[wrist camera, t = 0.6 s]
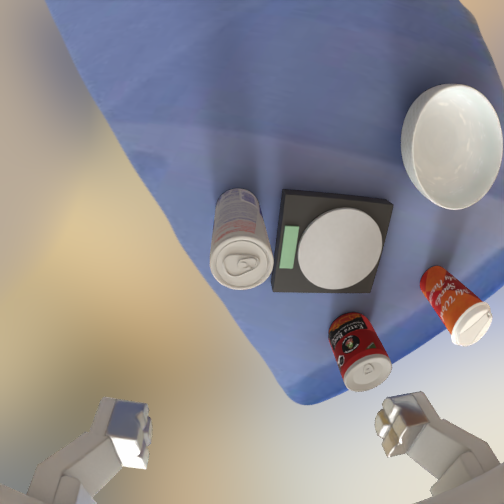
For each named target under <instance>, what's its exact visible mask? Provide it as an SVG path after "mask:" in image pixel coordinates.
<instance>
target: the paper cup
mask: <svg viewBox="0 0 504 504" xmlns="http://www.w3.org/2000/svg"><path fill="white" fill-rule="evenodd" d="M420 288H421V290H422V292H423V294H424V295H425V297H426V298H427V299H428V301H429V302H430V304H431V305H432V307H433V308H434V310H435V311H436V313H437V314H438V316H439V317H440V319H441V320H442V322H443V323H444V325H445V326H446V328H447V329H448V331H449V332H450V334H451V337H452V342H453V343H454V344H457V345H459V346H469V345H472V344H474V343H476V342H477V341H478V340H479V339H481V337H483V335H484V334H485V333H486V332H487V330H488V329H489V327H490V325H491V322H492V314H491V311H490V306H489V305H488V304H487V303H485V302H482V301H481V300H480V299H479V298H478V297H477V296H476V295H475V294H474V293H473V292H471V291H470V290H469V289H468V288H467V287H465V286H464V285H463V284H462V283H461V282H460V281H459V280H457V279H456V278H455V277H454V276H453V275H451V274H450V273H449V272H448V271H446V270H445V269H444V268H442V267H441V266H433V267H431V268H429V269H428V270H427V271H426V272H425V273H424V274H423V276H422V278H421V281H420Z"/></svg>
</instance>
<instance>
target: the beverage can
mask: <svg viewBox="0 0 504 504" xmlns="http://www.w3.org/2000/svg"><path fill="white" fill-rule="evenodd" d="M273 264H274V259H273V254H272V250H271V246H270V242H269V239H268V235H267V231H266V227H265V224H264V220H263V217H262V213H261V209H260V206H259V202H258V200H257V198H256V197H255V196H254V195H253V194H252V193H251V192H249V191H247V190H245V189H231V190H228V191H226V192H225V193H223V194H222V195H221V196H220V198H219V199H218V201H217V204H216V210H215V218H214V226H213V234H212V243H211V251H210V268H211V272H212V274H213V276H214V277H215V279H216V280H217V281H218V282H219V283H221V284H222V285H224V286H226V287H228V288H231V289H237V290H245V289H250V288H253V287H256V286H258V285H260V284H261V283H263V282H264V281H265V280H266V279H267V278H268V277H269V275H270V274H271V272H272V269H273Z"/></svg>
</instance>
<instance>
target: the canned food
mask: <svg viewBox="0 0 504 504" xmlns="http://www.w3.org/2000/svg"><path fill="white" fill-rule="evenodd" d="M329 342H330V345H331V347H332V350H333V353H334V356H335V359H336V361H337V364H338V367H339V370H340V373H341V376H342V378H343V381H344V383H345V385H346V387H347V388H348V389H349V390H351V391H355V392H362V391H367V390H370V389H373V388H375V387H377V386H378V385H380V384H381V383H383V382H384V381H385V380H386V379H387V378H388V376H389V375H390V373H391V370H392V364H391V361H390V359H389V357H388V354H387V353H386V351H385V349H384V347H383V345H382V343H381V341H380V340H379V338H378V336H377V334H376V332H375V330H374V329H373V327H372V325H371V323H370V321H369V320H368V319H367V318H366V317H365V316H364V315H362V314H360V313H355V312H352V313H347V314H344V315H342V316H340V317H339V318H337V319H336V320H335V321H334V322H333V323H332V325H331V327H330V329H329Z"/></svg>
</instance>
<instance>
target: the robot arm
mask: <svg viewBox="0 0 504 504" xmlns="http://www.w3.org/2000/svg"><path fill="white" fill-rule="evenodd" d="M382 406H383V409H382V410H380V411H379V412H378V413H377V416H376V418H375V429H376V432H377V435H378V436H379V437H381V438H382V439H383V442H382V446H383V448H384V451H385V453H386V455H387V457H392V456H397V455H401V454H405V453H407V455H408V456H409V457H410V458H412V459H413V460H414V461H415V462H417V463H418V464H419V465H420V466H422V467H423V468H424V469H425V470H427V471H428V472H429V473H431V474H432V475H433V476H434V477H436V478H437V479H438V481H437V482H436V483H435V484H434V485H433V486H432V487H431V489H430V491H431V494H432V496H433V497H430V498H428V499H425V500H423V501H420V502H417V503H414V504H504V462H503V463H502V464H500V463H499V461H498V459H497V458H496V456H495V454H494V453H493V451H492V450H491V448H490V446H489V445H488V443H487V442H485V441H483V440H481V439H479V438H478V437H476V436H474V435H472V434H470V433H468V432H467V431H465V430H463V429H461V428H459V427H457V426H456V425H454V424H452V423H450V422H448V421H447V420H445V419H442V420H441V419H440V418H439V416H438V414H437V413H436V411H435V410H434V408H433V406H432V405H431V403H430V402H429V400H428V399H427V397H426V395H425V394H424V393H423V392H421V391H420V392H415V393H409V394H403V395H397V396H392V397H387V398H386V399H385V400H384V401H383V403H382ZM148 413H149V408H148V404H146V403H140V402H133V401H127V400H121V399H114V398H108V397H103V398H102V399H101V401H100V404H99V406H98V409H97V412H96V414H95V417H94V420H93V423H92V425H91V428H90V431H89V433H88V432H84V433H83V434H82V435H80V436H79V437H77V438H76V439H74V440H73V441H71V442H70V443H69V444H67V445H66V446H64V447H63V448H62V449H60V450H59V451H57V452H56V453H54V454H53V455H51V456H50V457H49V458H47V459H45V460H44V461H43V462H41V463H40V464H38V465H37V468H36V471H35V473H34V475H33V478H32V481H31V484H30V486H29V489H28V492H27V494H26V495H25V494H23V493H21V492H18V491H16V490H14V489H11V488H9V487H7V486H5V485H3V484H1V483H0V504H97V503H96V502H95V500H94V499H93V498H92V497H93V496H94V495H95V494H96V493H97V492H98V491H99V490H100V489H101V488H102V487H103V486H104V485H105V484H106V483H107V482H108V481H109V480H110V479H111V478H112V477H113V476H114V475H115V474H116V473H117V472H118V471H119V470H120V469H121V468H122V466H125V467H132V468H140V469H147V464H148V458H149V452H148V449H147V446H149V445H150V444H151V440H152V421H151V418H150V417H149V416H148Z"/></svg>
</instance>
